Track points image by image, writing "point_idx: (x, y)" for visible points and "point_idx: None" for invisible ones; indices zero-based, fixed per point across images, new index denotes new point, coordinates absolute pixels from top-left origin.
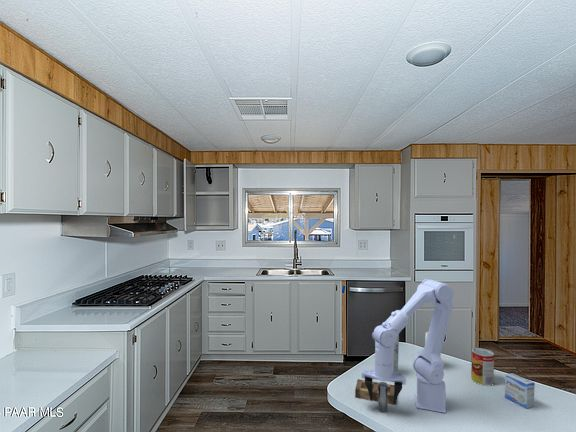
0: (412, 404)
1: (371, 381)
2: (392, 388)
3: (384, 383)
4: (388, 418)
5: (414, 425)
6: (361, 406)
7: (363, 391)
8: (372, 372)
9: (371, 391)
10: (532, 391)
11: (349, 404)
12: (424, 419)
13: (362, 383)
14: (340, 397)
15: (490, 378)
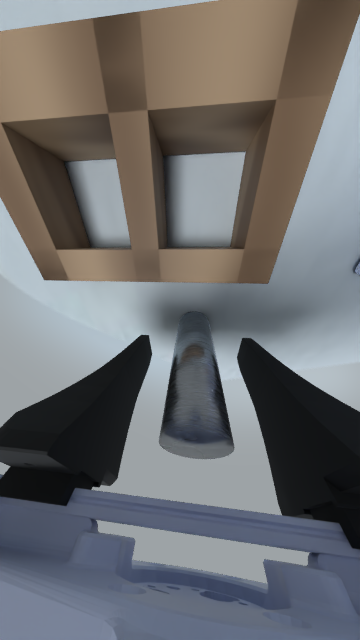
0: (351, 238)
1: (101, 475)
2: (288, 145)
3: (206, 441)
4: None
5: None
6: (123, 323)
7: (90, 279)
8: (3, 598)
9: (134, 400)
10: None
11: (86, 322)
12: (333, 337)
13: (21, 131)
14: (35, 290)
15: None
